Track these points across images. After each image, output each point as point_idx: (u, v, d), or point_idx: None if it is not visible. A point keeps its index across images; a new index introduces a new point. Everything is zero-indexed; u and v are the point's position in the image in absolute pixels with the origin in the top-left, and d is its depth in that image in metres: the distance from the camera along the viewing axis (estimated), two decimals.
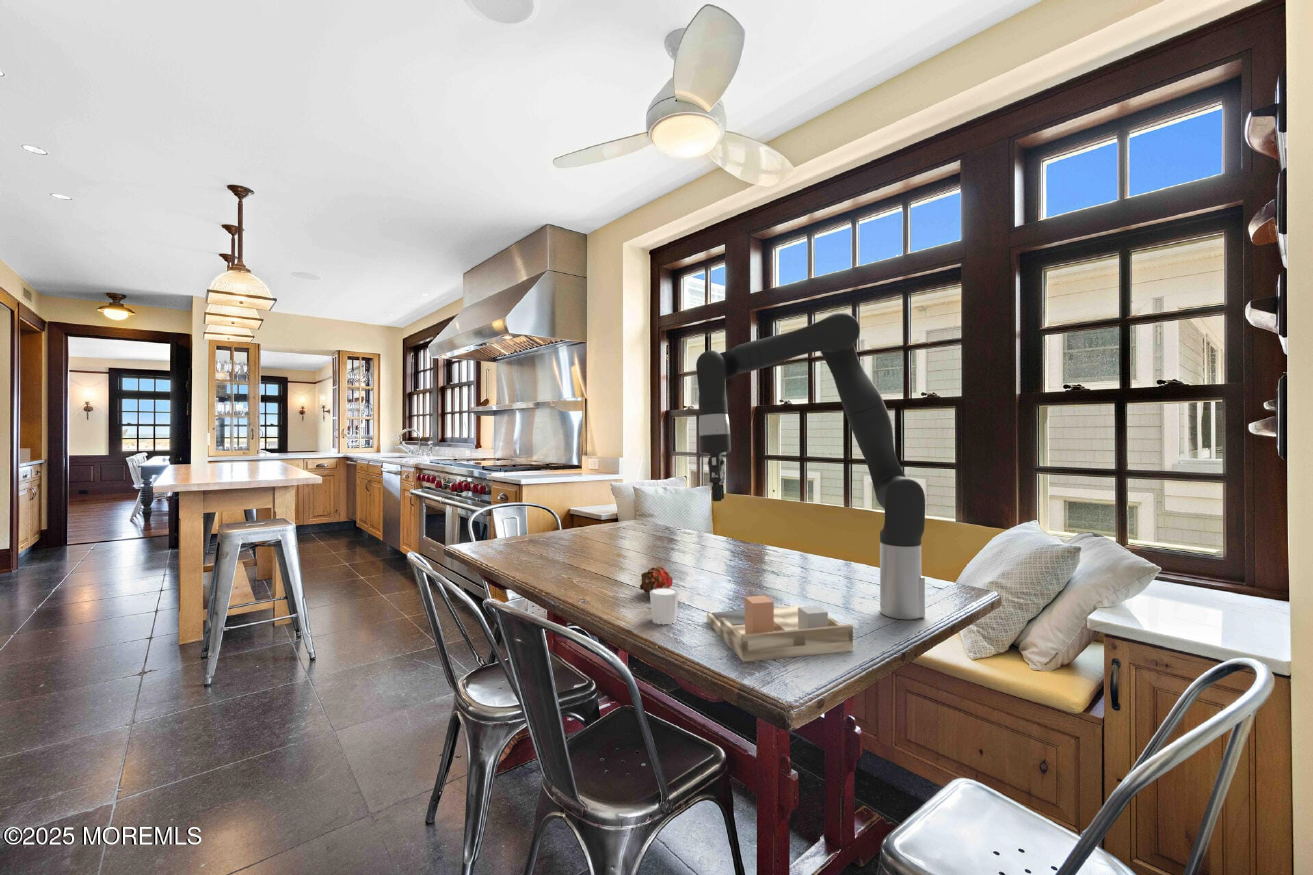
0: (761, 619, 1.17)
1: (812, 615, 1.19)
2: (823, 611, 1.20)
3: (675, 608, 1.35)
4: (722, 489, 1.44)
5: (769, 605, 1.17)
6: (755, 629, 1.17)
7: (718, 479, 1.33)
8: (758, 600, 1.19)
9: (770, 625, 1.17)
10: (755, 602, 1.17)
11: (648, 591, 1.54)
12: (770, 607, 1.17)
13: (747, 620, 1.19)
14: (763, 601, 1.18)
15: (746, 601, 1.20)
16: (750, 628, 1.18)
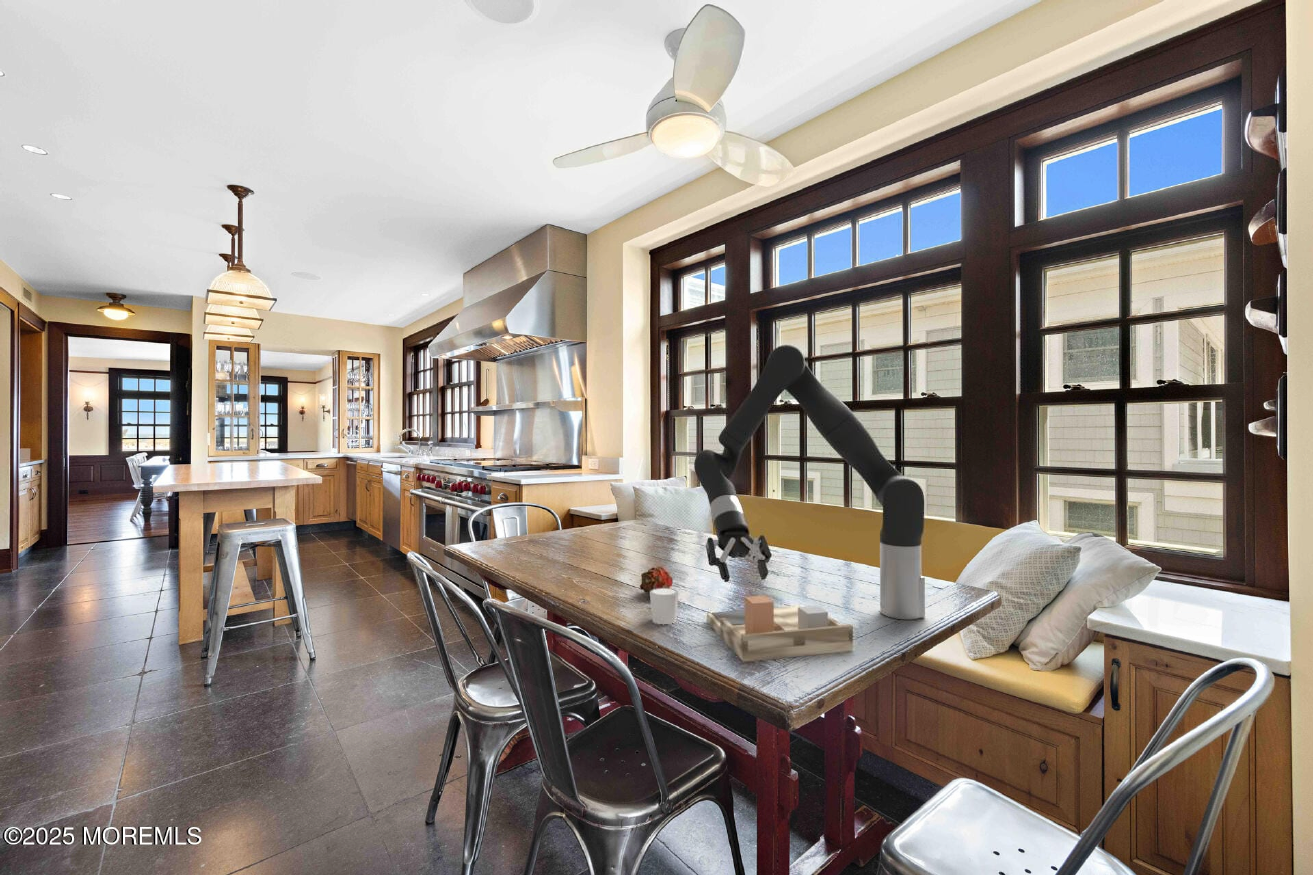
0: (761, 619, 1.17)
1: (812, 615, 1.19)
2: (823, 611, 1.20)
3: (675, 608, 1.35)
4: (761, 566, 1.28)
5: (769, 605, 1.17)
6: (755, 629, 1.17)
7: (710, 558, 1.28)
8: (758, 600, 1.19)
9: (770, 625, 1.17)
10: (755, 602, 1.17)
11: (648, 591, 1.54)
12: (770, 607, 1.17)
13: (747, 620, 1.19)
14: (763, 601, 1.18)
15: (746, 601, 1.20)
16: (750, 628, 1.18)
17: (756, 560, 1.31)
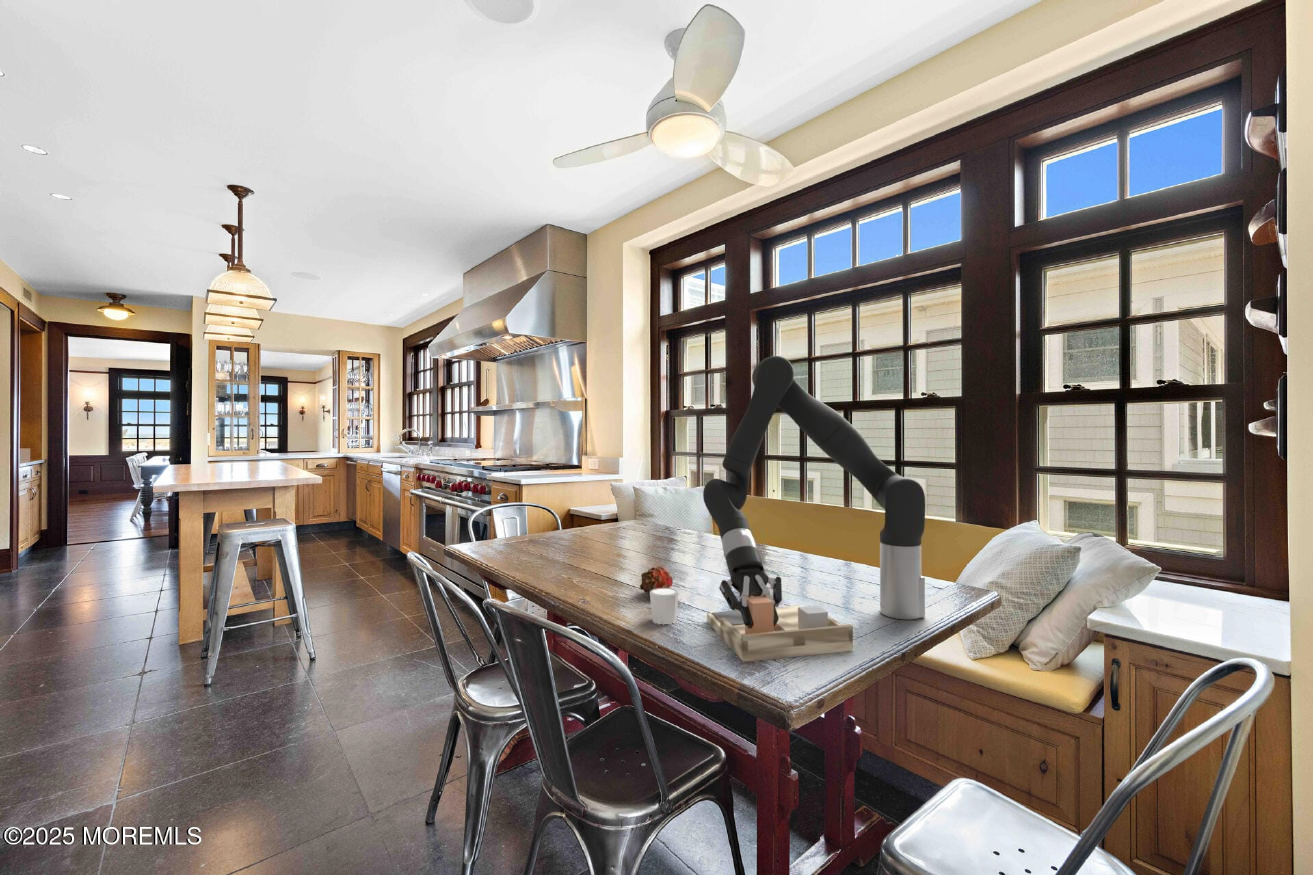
0: (761, 619, 1.17)
1: (812, 615, 1.19)
2: (823, 611, 1.20)
3: (675, 608, 1.35)
4: None
5: (769, 605, 1.17)
6: (755, 629, 1.17)
7: (732, 602, 1.19)
8: (758, 600, 1.19)
9: (770, 625, 1.17)
10: (755, 602, 1.17)
11: (648, 591, 1.54)
12: (770, 607, 1.17)
13: None
14: (763, 601, 1.18)
15: None
16: (750, 628, 1.18)
17: None
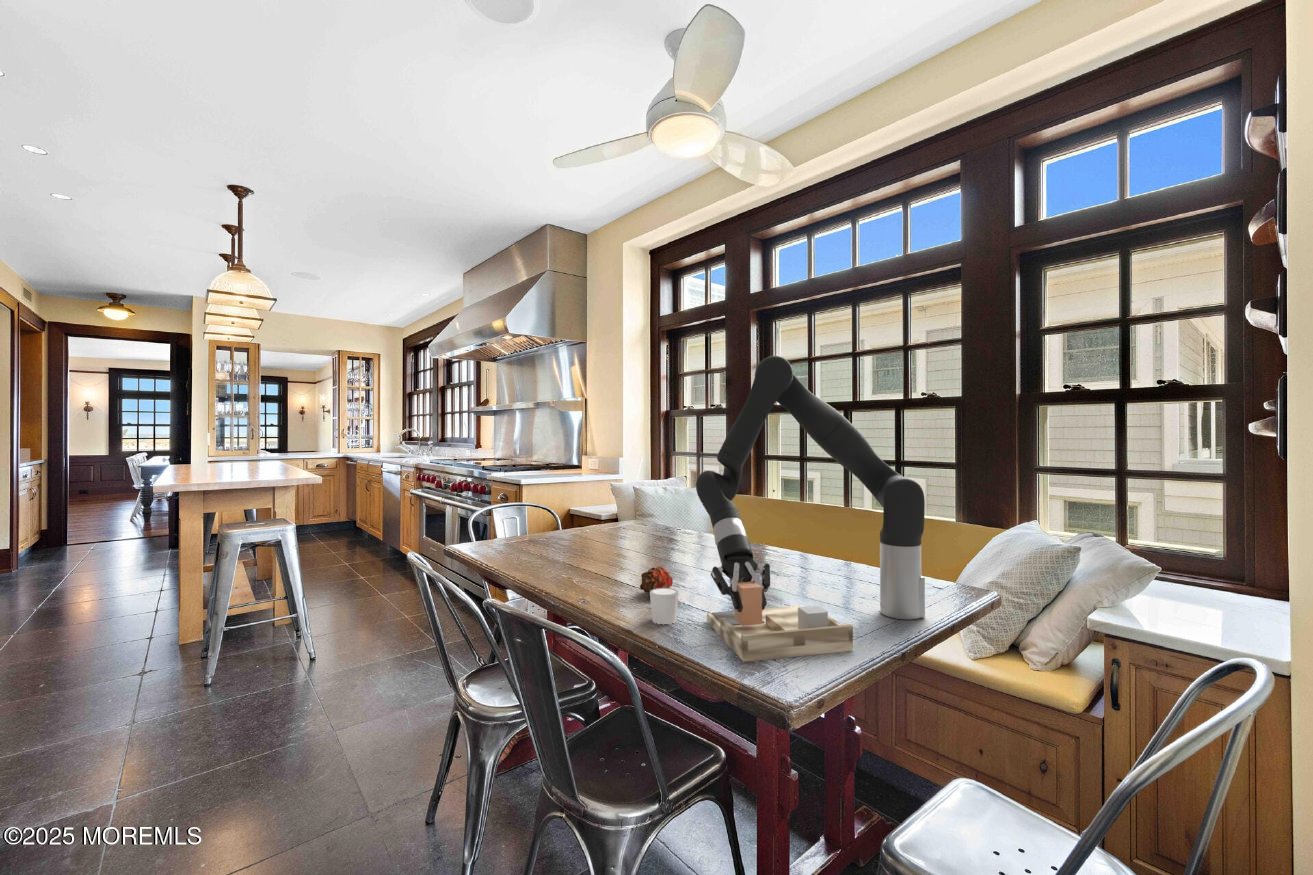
0: (750, 604, 1.23)
1: (812, 615, 1.19)
2: (823, 611, 1.20)
3: (675, 608, 1.35)
4: None
5: (757, 590, 1.23)
6: (744, 612, 1.22)
7: (723, 587, 1.25)
8: (747, 585, 1.24)
9: (759, 609, 1.23)
10: (744, 587, 1.23)
11: (648, 591, 1.54)
12: (759, 592, 1.23)
13: None
14: (752, 586, 1.23)
15: None
16: (740, 612, 1.24)
17: None
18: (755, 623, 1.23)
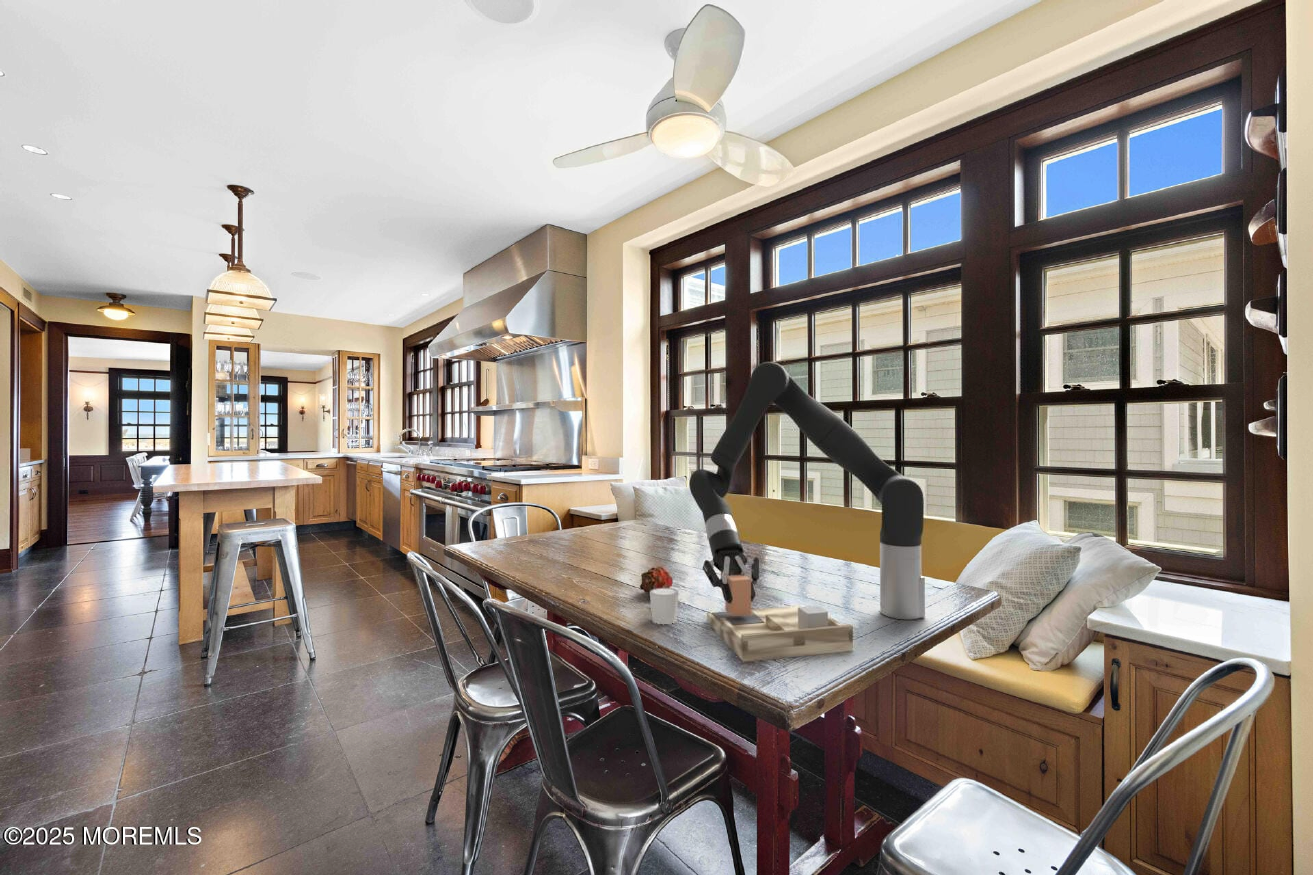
0: (740, 595, 1.29)
1: (812, 615, 1.19)
2: (823, 611, 1.20)
3: (675, 608, 1.35)
4: None
5: (746, 582, 1.29)
6: (734, 603, 1.29)
7: (714, 580, 1.31)
8: (737, 577, 1.31)
9: (748, 601, 1.29)
10: (734, 580, 1.29)
11: (648, 591, 1.54)
12: (748, 584, 1.29)
13: None
14: (741, 579, 1.30)
15: None
16: (730, 603, 1.30)
17: None
18: (744, 614, 1.29)
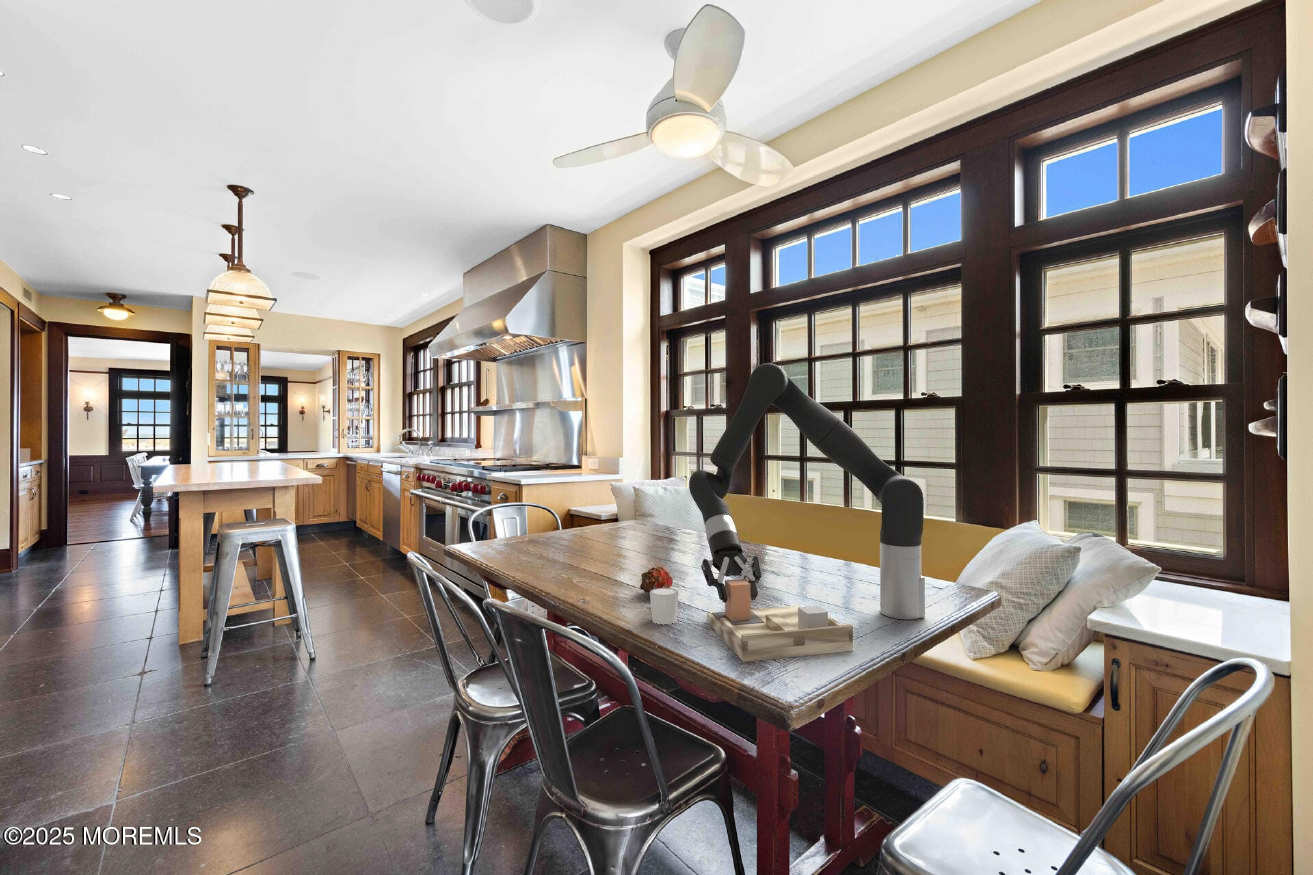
0: (739, 600, 1.30)
1: (812, 615, 1.19)
2: (823, 611, 1.20)
3: (675, 608, 1.35)
4: (751, 587, 1.32)
5: (746, 587, 1.30)
6: (734, 608, 1.29)
7: (709, 579, 1.32)
8: (736, 582, 1.31)
9: (747, 605, 1.30)
10: (733, 584, 1.30)
11: (648, 591, 1.54)
12: (747, 589, 1.30)
13: (727, 601, 1.32)
14: (740, 583, 1.30)
15: (726, 584, 1.33)
16: (729, 608, 1.30)
17: (747, 580, 1.35)
18: (744, 618, 1.30)
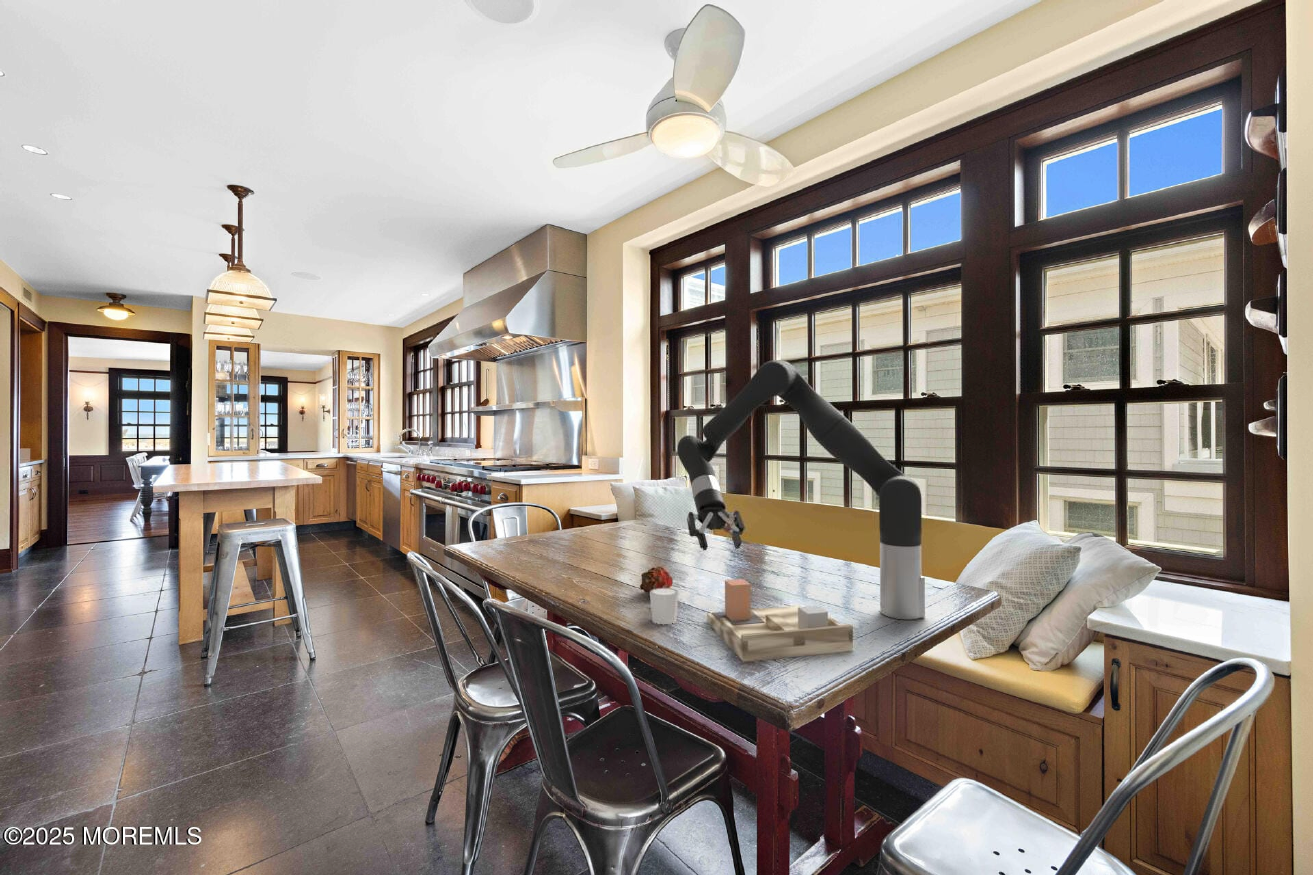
0: (739, 600, 1.30)
1: (812, 615, 1.19)
2: (823, 611, 1.20)
3: (675, 608, 1.35)
4: (735, 537, 1.45)
5: (746, 587, 1.30)
6: (734, 608, 1.29)
7: (691, 529, 1.44)
8: (736, 582, 1.31)
9: (747, 605, 1.30)
10: (733, 584, 1.30)
11: (648, 591, 1.54)
12: (747, 589, 1.30)
13: (727, 601, 1.32)
14: (740, 583, 1.30)
15: (726, 584, 1.33)
16: (729, 608, 1.30)
17: (731, 532, 1.48)
18: (744, 618, 1.30)
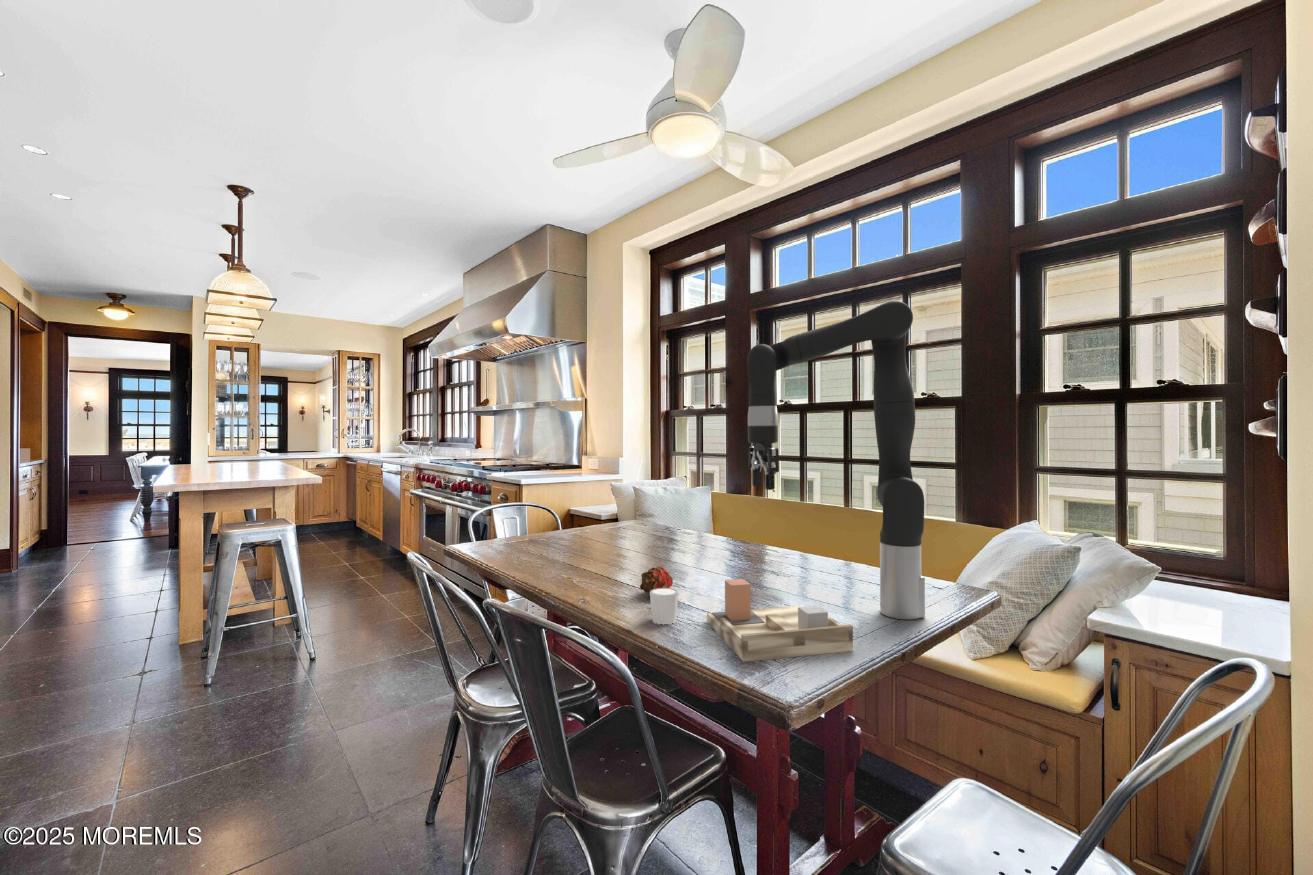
0: (739, 600, 1.30)
1: (812, 615, 1.19)
2: (823, 611, 1.20)
3: (675, 608, 1.35)
4: (760, 477, 1.51)
5: (746, 587, 1.30)
6: (734, 608, 1.29)
7: (777, 469, 1.40)
8: (736, 582, 1.31)
9: (747, 605, 1.30)
10: (733, 584, 1.30)
11: (648, 591, 1.54)
12: (747, 589, 1.30)
13: (727, 601, 1.32)
14: (740, 583, 1.30)
15: (726, 584, 1.33)
16: (729, 608, 1.30)
17: None
18: (744, 618, 1.30)
